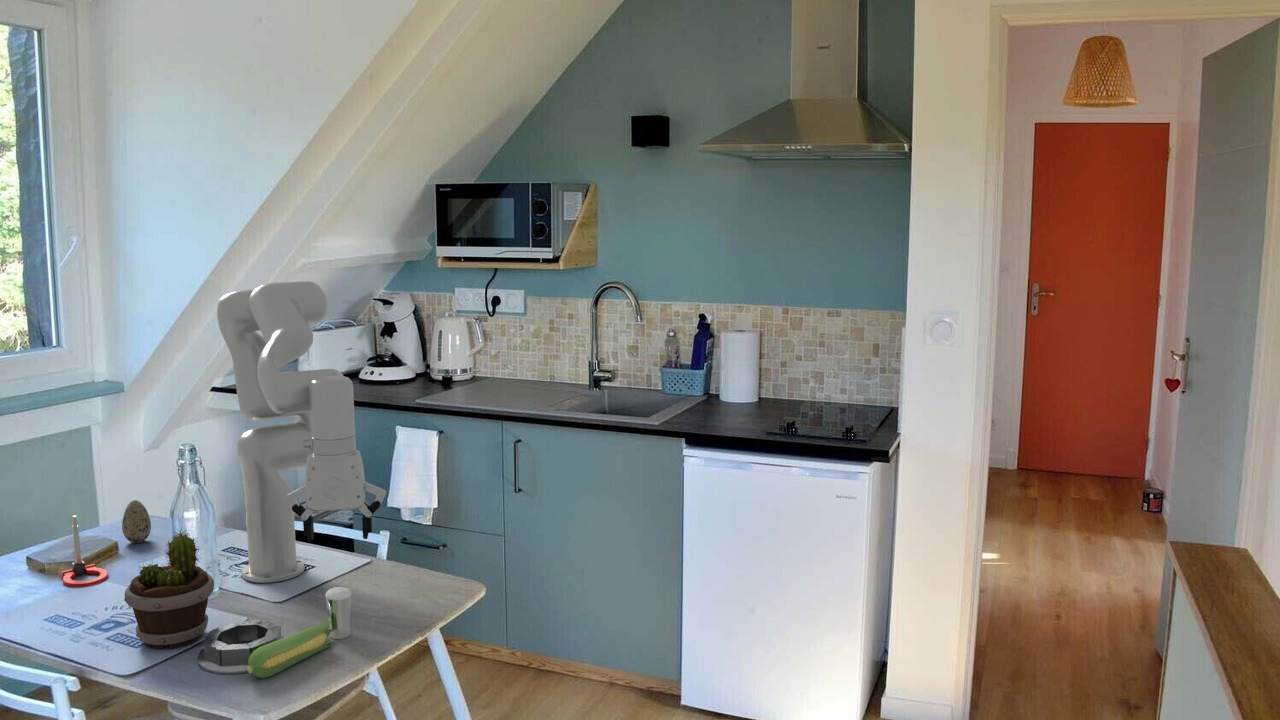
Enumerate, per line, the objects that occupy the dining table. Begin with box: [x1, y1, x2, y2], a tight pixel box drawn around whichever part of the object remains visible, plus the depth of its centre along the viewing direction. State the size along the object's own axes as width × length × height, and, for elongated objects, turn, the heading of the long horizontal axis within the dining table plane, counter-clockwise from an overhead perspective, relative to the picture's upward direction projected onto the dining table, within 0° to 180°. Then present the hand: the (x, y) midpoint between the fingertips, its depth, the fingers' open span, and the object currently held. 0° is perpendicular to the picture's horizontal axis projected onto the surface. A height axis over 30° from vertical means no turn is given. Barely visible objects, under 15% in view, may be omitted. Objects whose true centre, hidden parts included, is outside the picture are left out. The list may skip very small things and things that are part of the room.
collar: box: [197, 619, 285, 675], centre depth 185 cm, size 15×15×4 cm
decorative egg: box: [121, 499, 152, 544], centre depth 241 cm, size 6×6×10 cm
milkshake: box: [325, 578, 353, 640], centre depth 193 cm, size 5×5×10 cm
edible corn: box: [247, 620, 332, 679], centre depth 183 cm, size 5×20×5 cm
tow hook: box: [60, 515, 109, 588], centre depth 218 cm, size 8×13×9 cm
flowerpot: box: [123, 527, 215, 650], centre depth 190 cm, size 14×15×20 cm
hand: (338, 538), depth 190 cm, fingers open, 9 cm apart
